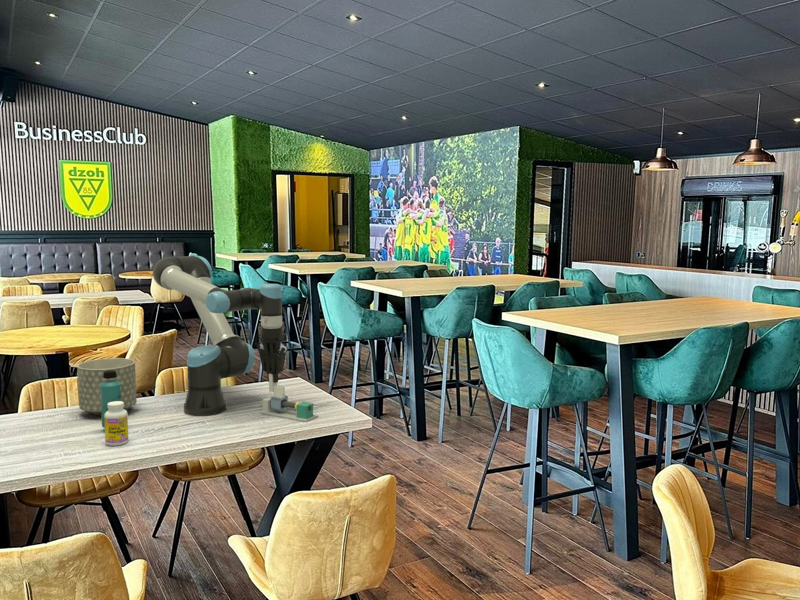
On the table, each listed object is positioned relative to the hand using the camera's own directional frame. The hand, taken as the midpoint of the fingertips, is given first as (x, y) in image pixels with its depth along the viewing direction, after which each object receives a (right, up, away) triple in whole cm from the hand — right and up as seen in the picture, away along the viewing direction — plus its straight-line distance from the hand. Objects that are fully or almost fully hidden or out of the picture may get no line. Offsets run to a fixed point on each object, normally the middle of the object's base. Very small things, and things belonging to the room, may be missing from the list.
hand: (273, 390), depth 237 cm
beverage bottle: (-50, -10, -20) cm, 55 cm away
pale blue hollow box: (+2, -7, 0) cm, 7 cm away
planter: (-60, -8, 0) cm, 60 cm away
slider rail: (+6, -9, -2) cm, 11 cm away
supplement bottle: (-43, -12, -33) cm, 55 cm away
